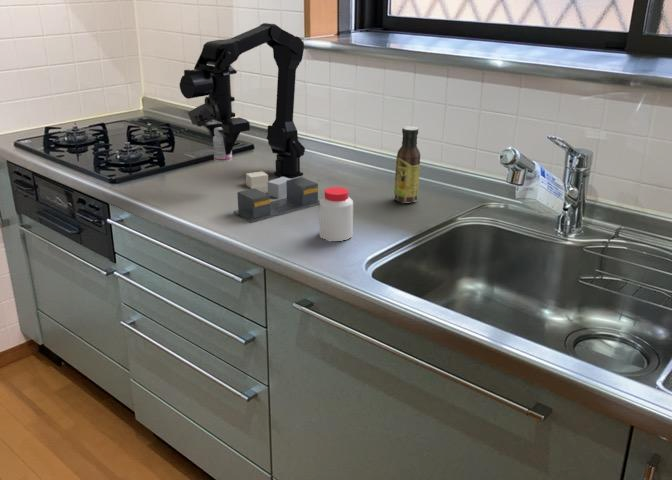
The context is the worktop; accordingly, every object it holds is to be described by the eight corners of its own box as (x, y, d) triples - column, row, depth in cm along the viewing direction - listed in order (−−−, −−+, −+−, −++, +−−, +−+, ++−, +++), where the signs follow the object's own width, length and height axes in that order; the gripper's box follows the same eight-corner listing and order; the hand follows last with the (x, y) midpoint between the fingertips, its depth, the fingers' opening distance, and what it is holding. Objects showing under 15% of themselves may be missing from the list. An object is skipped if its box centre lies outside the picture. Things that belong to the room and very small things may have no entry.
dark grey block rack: (303, 195, 183) (303, 175, 181) (322, 203, 177) (322, 183, 175) (233, 213, 170) (232, 192, 168) (251, 222, 164) (250, 200, 162)
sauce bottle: (390, 198, 182) (393, 125, 174) (411, 195, 184) (415, 123, 176) (400, 206, 176) (403, 131, 168) (421, 203, 178) (426, 129, 170)
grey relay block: (283, 190, 187) (282, 176, 186) (293, 193, 185) (293, 179, 183) (267, 195, 183) (267, 181, 181) (278, 199, 181) (278, 184, 179)
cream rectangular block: (262, 183, 193) (262, 171, 192) (268, 186, 190) (268, 175, 189) (246, 185, 191) (245, 173, 190) (251, 189, 188) (251, 177, 186)
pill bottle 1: (228, 163, 177) (227, 131, 173) (211, 161, 178) (209, 130, 174) (234, 158, 181) (233, 127, 178) (218, 157, 182) (216, 126, 179)
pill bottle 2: (318, 229, 160) (318, 185, 156) (350, 229, 161) (351, 185, 157) (320, 242, 153) (320, 196, 149) (354, 241, 154) (355, 196, 150)
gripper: (173, 91, 174) (178, 149, 180) (210, 102, 161) (214, 165, 167) (211, 86, 181) (215, 143, 187) (249, 97, 168) (252, 158, 174)
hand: (223, 152), depth 179 cm, fingers closed on pill bottle 1, 5 cm apart
